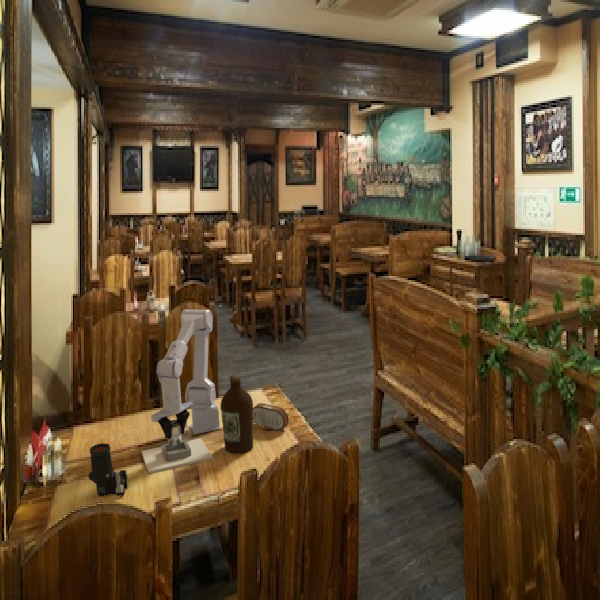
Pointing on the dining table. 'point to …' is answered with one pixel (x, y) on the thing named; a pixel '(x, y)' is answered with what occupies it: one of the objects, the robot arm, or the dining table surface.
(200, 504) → the dining table surface
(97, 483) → the black camera
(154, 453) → the mount plate
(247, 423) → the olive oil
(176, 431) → the lens
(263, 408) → the tin
